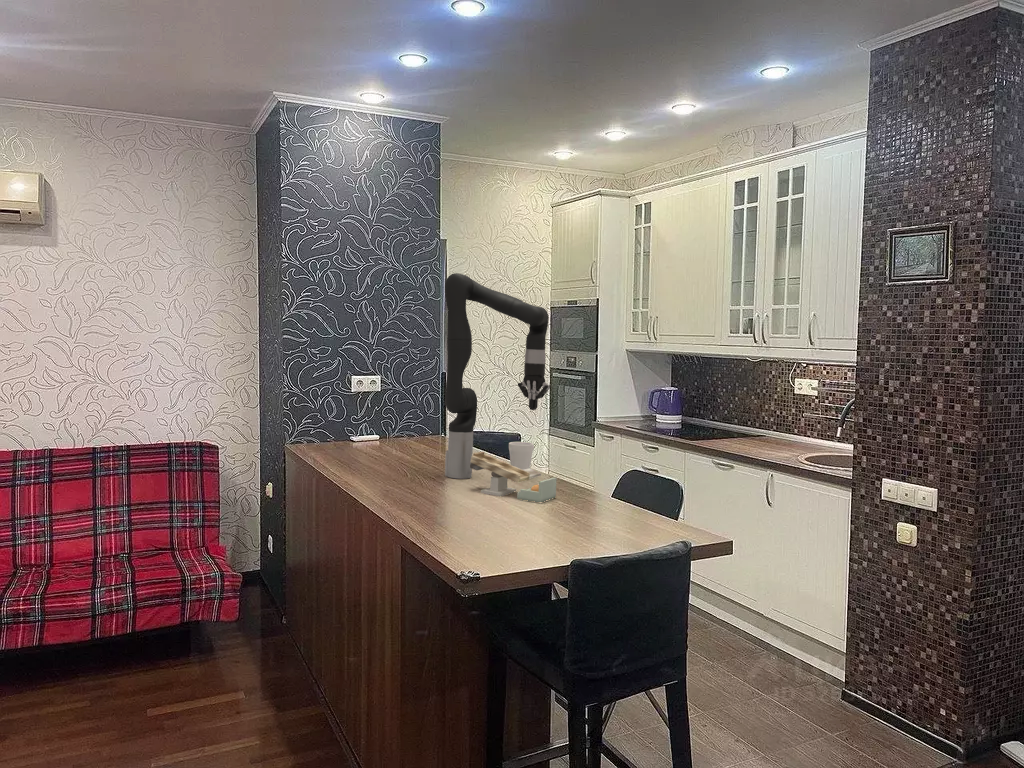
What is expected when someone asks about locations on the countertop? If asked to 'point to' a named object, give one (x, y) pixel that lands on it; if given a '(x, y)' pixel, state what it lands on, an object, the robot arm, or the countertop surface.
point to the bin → (545, 491)
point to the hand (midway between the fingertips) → (533, 409)
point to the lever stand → (498, 486)
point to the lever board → (501, 468)
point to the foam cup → (521, 454)
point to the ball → (535, 488)
